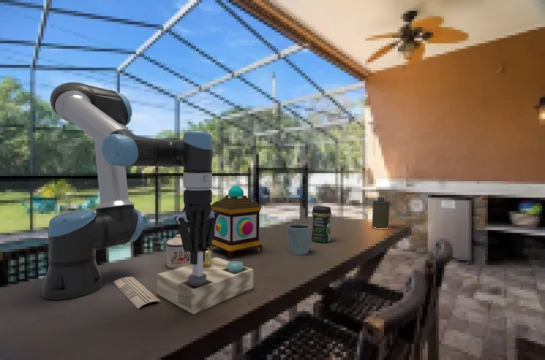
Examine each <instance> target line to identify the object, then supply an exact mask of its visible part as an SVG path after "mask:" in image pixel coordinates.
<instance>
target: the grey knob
mask: <svg viewBox="0 0 545 360" xmlns="http://www.w3.org/2000/svg"><path fill="white" fill-rule="evenodd" d="M204 285H206V274H205V273H203V276H200V277H197V276H195V275H192V274H190V275H189V276H188V286H189V287H192V288H194V289H196V288H198V287H201V286H204Z"/></svg>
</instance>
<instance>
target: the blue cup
mask: <svg viewBox="0 0 545 360" xmlns="http://www.w3.org/2000/svg"><path fill="white" fill-rule="evenodd" d="M286 228H287V235H288V248H289V249H288V251H289V254H291V255H294V254H295V256H305V254H306V255H308V254H309V250H310V249H309V244H310V232H311V226H310V225H308V224H305V223H304V224H303V223H294V224H289V225H287V227H286Z"/></svg>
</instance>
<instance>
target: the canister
mask: <svg viewBox="0 0 545 360" xmlns="http://www.w3.org/2000/svg"><path fill="white" fill-rule="evenodd" d="M390 204H391V200H390V201H388V200H385V199H384V197H381V196H379V197H378V196H377V200H373V201H372V220H371V223H372V224H371V225H372V226H373V227H376V228H387V227H389V226H390V225H389V223H390V221H389V220H390ZM372 226H371V227H372Z"/></svg>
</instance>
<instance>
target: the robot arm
mask: <svg viewBox="0 0 545 360" xmlns="http://www.w3.org/2000/svg"><path fill="white" fill-rule="evenodd" d="M49 103H50V107H51V109H52V110H53V112H54V114H56V115H57V116H58V117H60V119H62V120H63V121H65V122H69V123H72V124H74V125H75V126H76V127H77V128H79V130H81V131H82V132H83V133H85V134H86V135H87V136H88V137H90V138H91V139H92V140H93V142H94V149H95V150H94V151H95V160H96V173H97V181H98V192H99V203H98V205H97V206H96V207H95V210H93V209H80V210H73V211H68V212H64V213H60V214H57V215H55V216H53V217H51V218H50V219H49V222H48V231H47V237H48V270H47V272H46V275H45V277H44V281H43V283H42V286H41V297H42V298H44V299H46V300H51V301H53V300H55V301H59V300H60V301H61V300H67V299H68V300H69V299H76V298H78V297H82V296H85V295H89V294H91V293H94V292H95V291H97V290H99V289H100V288H101V287H102V286H103V276H102V273H101V270H100V268H99V265H98V263H97V261H96V257H97V256H96V255H97V254H96V251H98V250H103V249H104V250H105V249H108V248H112V247H116V246H125V245H127V244H130V243H133V242H135V241H136V240H137V239H139V237H140V236H141V234H142V232H143V229H144V217H143V214H141V213H142V212H141V211H140V210H139V209H137V208H135V204H134V203H133V201H131V200H130V199H129V198H130V197H129V189H128V180H127V170H126V167H158V168H159V167H161V168H177V167H180V168H181V167H183V180H182V181H183V182H182V184H183V185H182V187H183V193H182V195H183V199H182V200H183V202H182V203H183V205H184V206H183V209H182V213H181V214H180V215H179V216H175V217H174V221H175V222H176V224H177V226H178V227H177V228H178V230H179V235H180V236H181V240H182V245H183V249H184V250H185V251H188V252H190V265H191V264H192V275H195V276H197V277H200V276H203V262H205V252H206V251H207V250H208V248H209V247H211V244H212V239H213V234H214V229H215V224H216V220H217V218H218V216H219V213H217V212H214V211H213V210H212V207H211V205H212V204H211V203H213V190H212V189H211V188H212V187H213V150H214V147H213V137H212V133H210V132H208V131H204V130H186V131H184V132H183V135H182V139H180V140H179V139H176V140H174V139H173V140H170V139H162V138H153V137H144V136H138V135H137V134H135V133H133V132H132V131H130V130H129V129H127V126H128V124H129V123H130V122H131V121H132V115H133V110H132V109H133V108H132V105H131V102H130V99H128V97H127V96H125V94H123V93H121V92H118V91H115V90H112V89H107V88H101V87H98V86H93V85H90V84H86V83H83V82H76V81H73V82H72V81H69V82H65V83H64V82H63V83H62V84H60V85H58V86H57V87H55V88H54V89H52V91H51V94H50V97H49Z"/></svg>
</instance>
